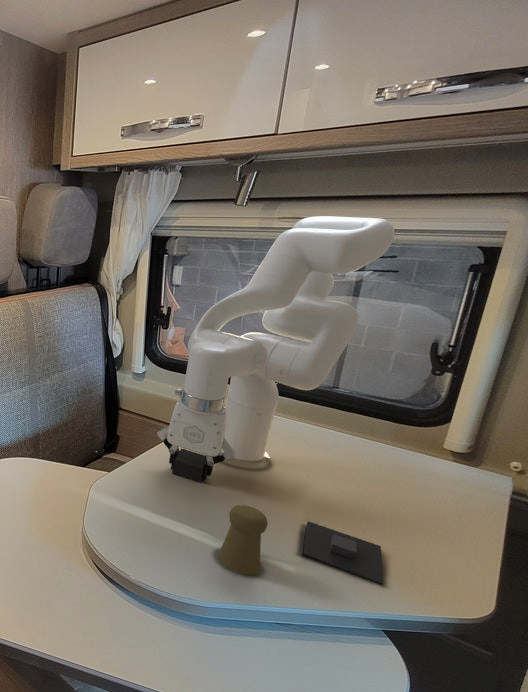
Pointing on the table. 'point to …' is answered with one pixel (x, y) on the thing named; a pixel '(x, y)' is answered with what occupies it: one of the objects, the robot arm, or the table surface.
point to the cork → (243, 540)
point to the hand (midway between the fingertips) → (189, 471)
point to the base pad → (340, 562)
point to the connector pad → (189, 465)
